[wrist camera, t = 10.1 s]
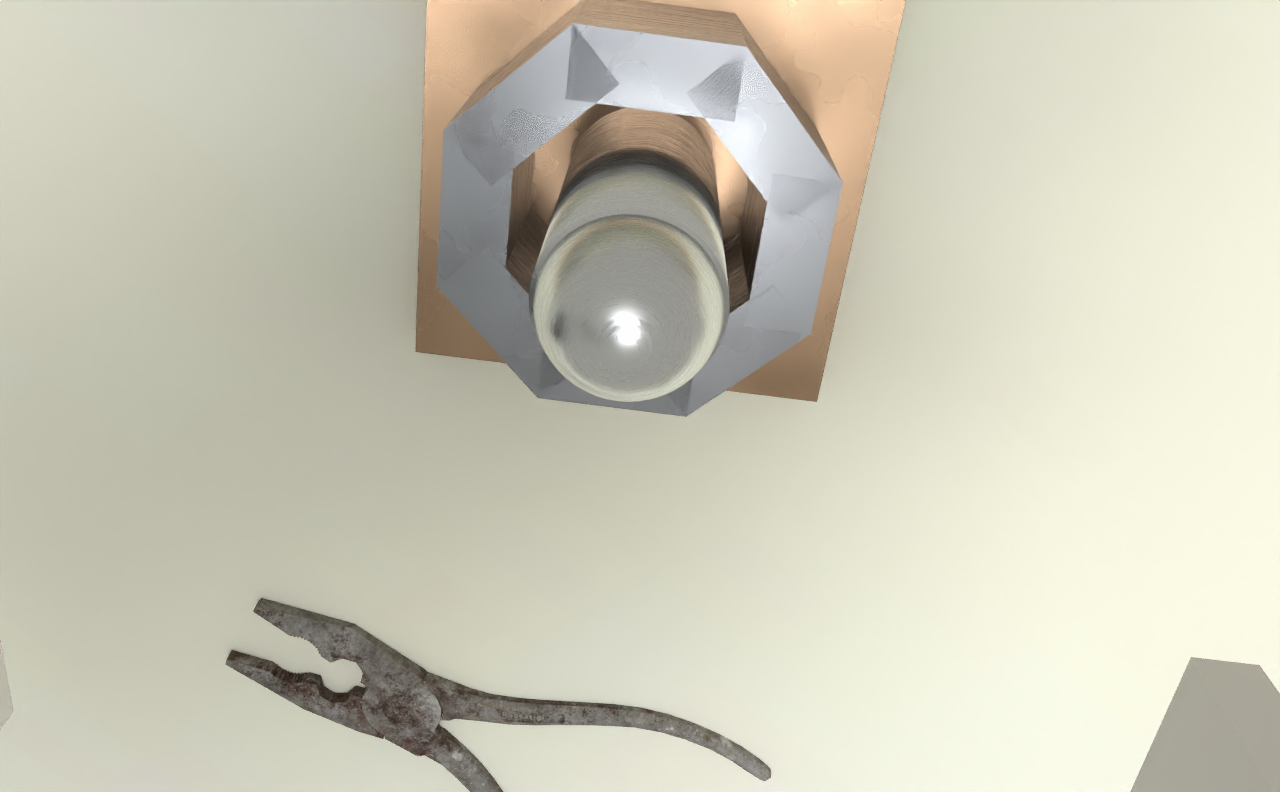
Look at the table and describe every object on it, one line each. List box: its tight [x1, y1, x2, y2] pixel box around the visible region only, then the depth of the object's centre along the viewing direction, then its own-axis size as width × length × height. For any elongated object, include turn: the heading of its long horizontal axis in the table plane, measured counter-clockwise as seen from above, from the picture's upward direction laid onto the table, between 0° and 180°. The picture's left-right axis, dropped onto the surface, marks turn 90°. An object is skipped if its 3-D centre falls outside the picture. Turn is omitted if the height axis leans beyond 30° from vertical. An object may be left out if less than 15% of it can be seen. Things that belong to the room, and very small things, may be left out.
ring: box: [437, 0, 843, 416], centre depth 28 cm, size 9×9×5 cm
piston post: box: [416, 0, 906, 402], centre depth 25 cm, size 12×12×12 cm
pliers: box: [226, 599, 771, 792], centre depth 41 cm, size 10×1×20 cm
